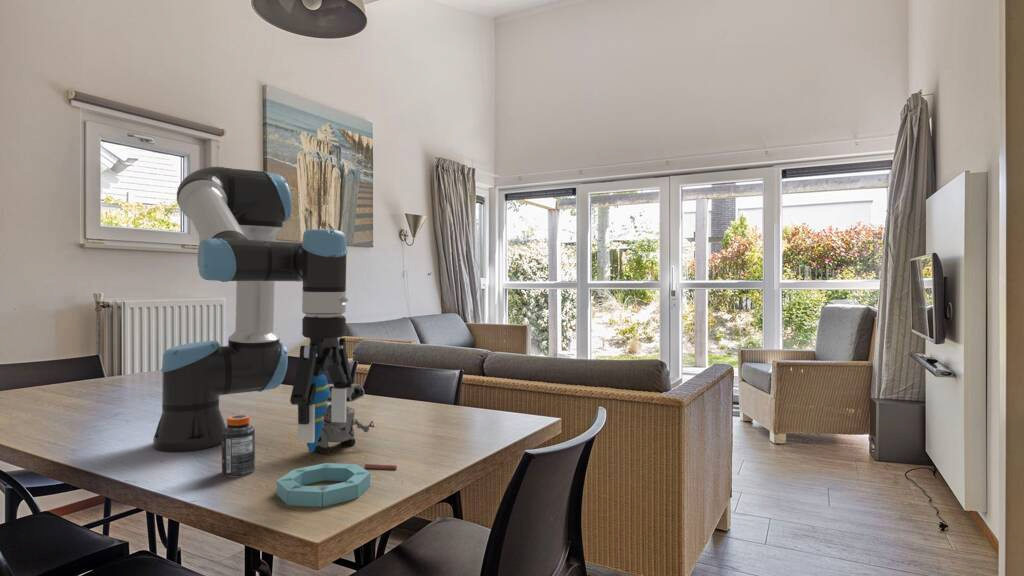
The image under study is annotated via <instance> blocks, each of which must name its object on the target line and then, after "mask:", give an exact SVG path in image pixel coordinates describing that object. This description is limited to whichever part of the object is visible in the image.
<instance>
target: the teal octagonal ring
mask: <svg viewBox="0 0 1024 576" xmlns="http://www.w3.org/2000/svg"><path fill="white" fill-rule="evenodd" d="M325 481H334V482H337V483H333V484H330V485H324V486H318V485H317V486H316V485H315V486H313V485H311V484H315V483H319V482H325ZM370 487H371V472H370V471H369V470H367V469H366V468H365V467H364V468H363V467H362V466H361V465H359V464H357V463H356V464H355V463H336V462H335V463H331V462H324V463H320V464H315V465H309V466H305V467H300V468H294V469H291V470H290V471H289V472H287V473H285V474H284V475H283V476H281V477H280V478H278V479H277V480H276V496H277V497H279V498H280V499H281V501H283V502H284V503H285V504H286V505H287V506H296V507H297V506H300V507H314V508H317V507H319V508H323V507H328V506H332V505H336V504H337V505H338V504H340V503H344V502H349V501H352V500H357V499H358V498H360V497H361V496H362V494H364V493H365V492H366V491H367V490H368V489H369V488H370Z"/></svg>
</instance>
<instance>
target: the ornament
mask: <svg viewBox="0 0 1024 576" xmlns="http://www.w3.org/2000/svg"><path fill="white" fill-rule="evenodd" d="M313 383H315V384H316V392H315V396H314V399H313V402H312V404H315V442H314V443H306V446H307V448H308V451H309V452H310V453H313V452H314V449H315V447H316V444H317V442H318V440H319V437H320V434H321V430H322V427H323V424H324V414H325V412H326V410H327V405H328V402H327V399H328V397H329V394H330V388H329V385H328V384H329V382H328V379H327V376H326V375H325V374H323V373H322V374H321V375H319V376H318V377H317V376H314V375H313V377H312V381H311V384H313Z"/></svg>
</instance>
